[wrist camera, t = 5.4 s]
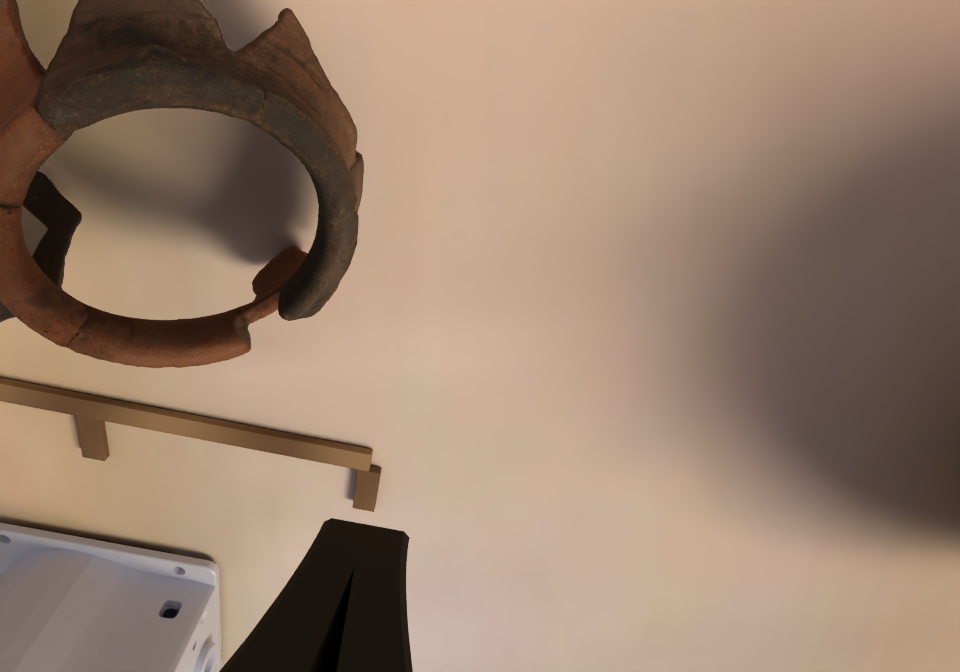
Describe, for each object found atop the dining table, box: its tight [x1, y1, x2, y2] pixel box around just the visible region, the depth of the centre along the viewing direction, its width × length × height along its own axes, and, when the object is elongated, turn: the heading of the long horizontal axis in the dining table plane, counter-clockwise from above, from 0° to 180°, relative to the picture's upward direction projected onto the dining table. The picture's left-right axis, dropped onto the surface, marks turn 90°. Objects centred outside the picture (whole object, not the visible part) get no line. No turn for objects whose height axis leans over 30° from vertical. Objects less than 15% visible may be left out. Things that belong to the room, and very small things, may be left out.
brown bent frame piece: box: [0, 0, 364, 368], centre depth 16 cm, size 12×10×8 cm
